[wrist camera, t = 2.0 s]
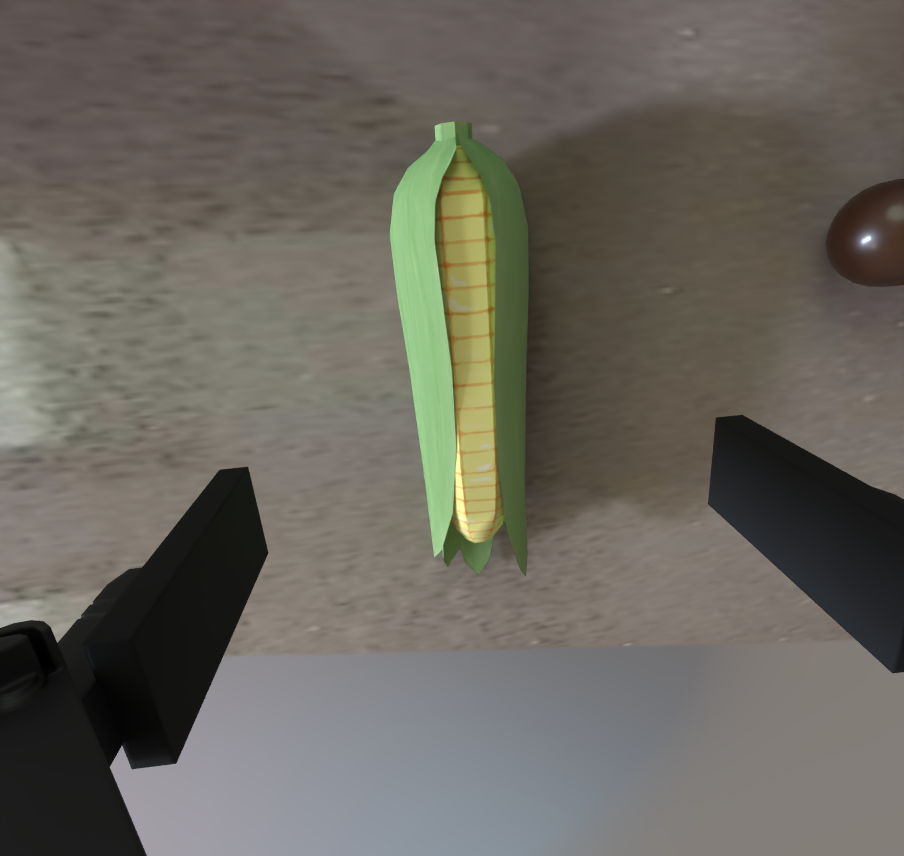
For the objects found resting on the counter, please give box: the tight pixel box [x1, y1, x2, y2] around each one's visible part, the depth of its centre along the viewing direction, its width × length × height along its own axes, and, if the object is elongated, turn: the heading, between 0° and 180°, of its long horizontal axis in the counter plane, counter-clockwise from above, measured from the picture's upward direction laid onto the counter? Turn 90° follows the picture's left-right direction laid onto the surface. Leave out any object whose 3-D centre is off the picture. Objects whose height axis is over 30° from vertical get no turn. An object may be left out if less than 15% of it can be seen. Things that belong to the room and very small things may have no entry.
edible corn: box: [390, 122, 529, 576], centre depth 22 cm, size 5×20×5 cm, turn 4°
